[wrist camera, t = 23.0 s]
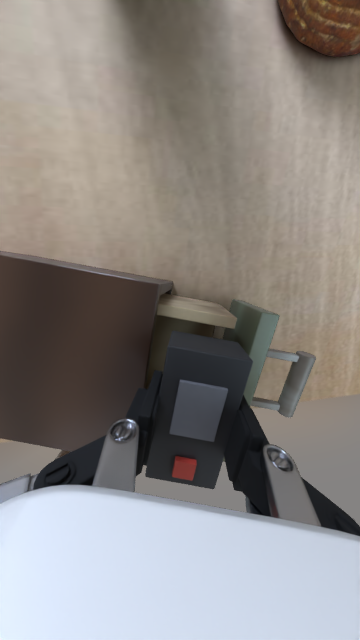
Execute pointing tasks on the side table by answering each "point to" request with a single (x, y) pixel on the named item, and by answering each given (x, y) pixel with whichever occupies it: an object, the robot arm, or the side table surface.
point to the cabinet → (71, 348)
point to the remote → (197, 408)
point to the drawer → (240, 326)
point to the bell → (325, 24)
